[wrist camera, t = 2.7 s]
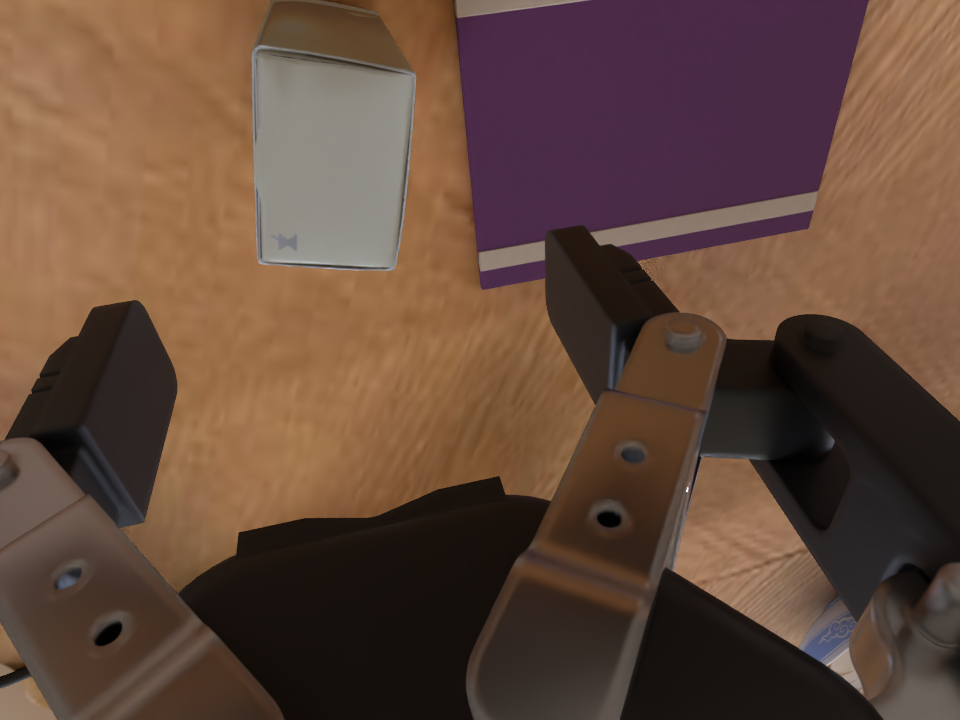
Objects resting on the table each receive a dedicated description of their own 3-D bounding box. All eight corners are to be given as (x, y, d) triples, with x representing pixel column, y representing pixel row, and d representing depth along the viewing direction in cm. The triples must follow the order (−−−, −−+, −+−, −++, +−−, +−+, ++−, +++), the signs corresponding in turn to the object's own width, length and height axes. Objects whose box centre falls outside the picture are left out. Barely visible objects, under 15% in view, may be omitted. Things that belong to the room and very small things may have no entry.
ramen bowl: (990, 510, 65) (1064, 578, 59) (923, 623, 79) (977, 688, 73) (764, 575, 63) (816, 654, 57) (737, 679, 77) (776, 751, 71)
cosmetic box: (368, 154, 30) (398, 283, 20) (271, 144, 29) (254, 276, 19) (380, 1, 26) (423, 70, 17) (270, -19, 25) (248, 43, 15)
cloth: (480, 286, 36) (482, 290, 35) (448, -50, 26) (450, -49, 25) (804, 225, 38) (809, 229, 38) (889, -104, 28) (897, -103, 28)
